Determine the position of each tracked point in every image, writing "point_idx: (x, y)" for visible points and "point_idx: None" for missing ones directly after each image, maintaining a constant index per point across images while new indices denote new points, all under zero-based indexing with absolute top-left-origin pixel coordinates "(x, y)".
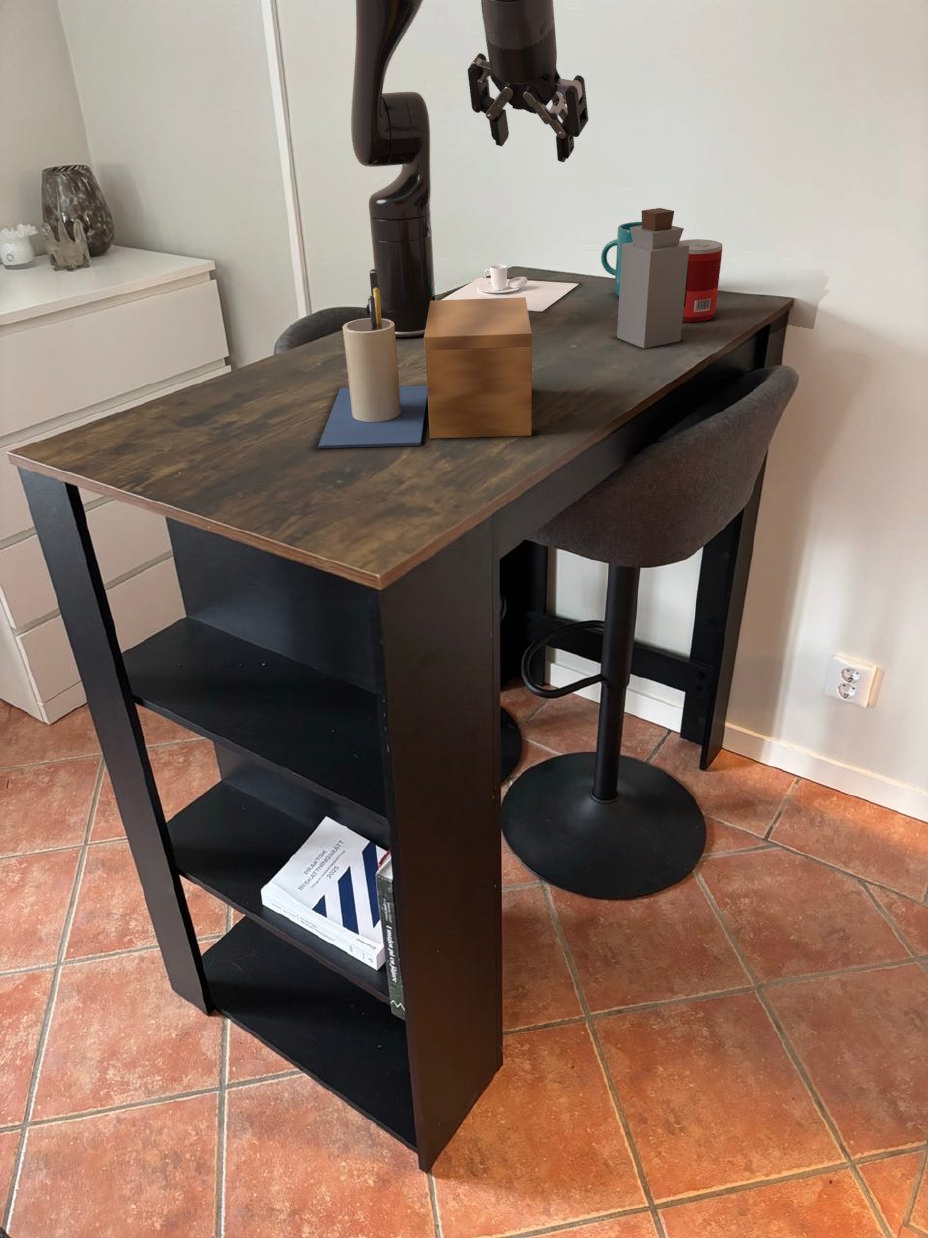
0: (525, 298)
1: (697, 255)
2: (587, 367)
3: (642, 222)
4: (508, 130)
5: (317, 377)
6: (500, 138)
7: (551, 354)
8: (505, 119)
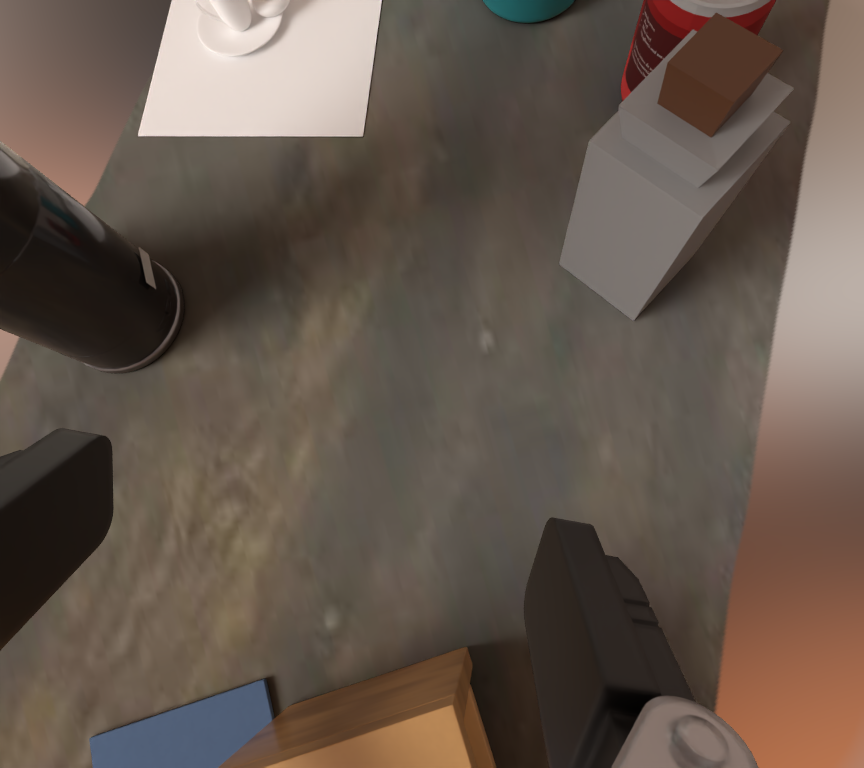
0: (457, 721)
1: (739, 19)
2: (552, 468)
3: (663, 92)
4: (85, 449)
5: (25, 657)
6: (71, 570)
7: (456, 402)
8: (2, 529)
